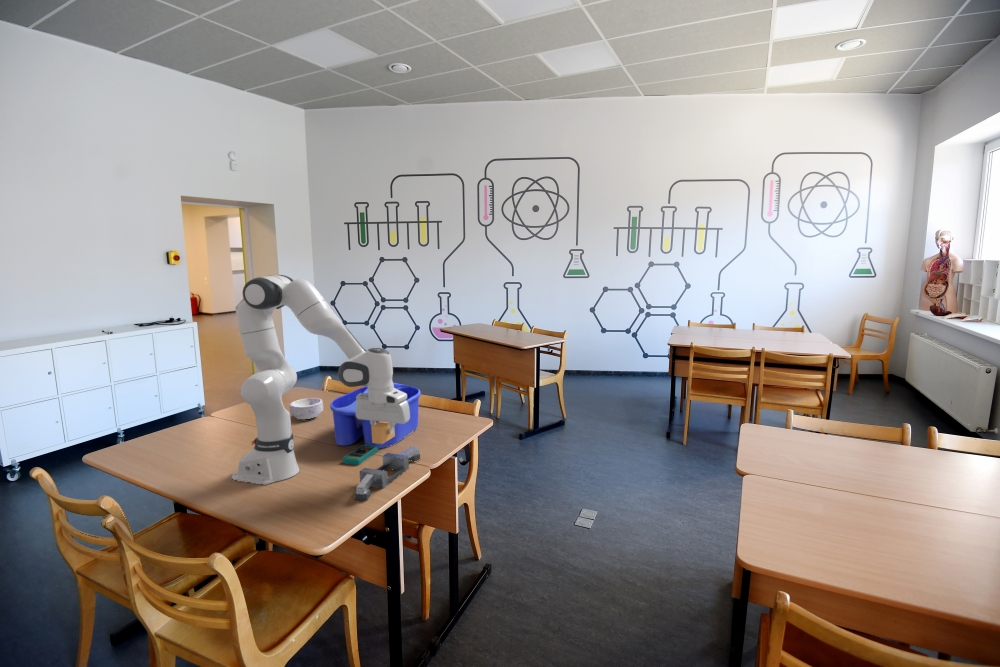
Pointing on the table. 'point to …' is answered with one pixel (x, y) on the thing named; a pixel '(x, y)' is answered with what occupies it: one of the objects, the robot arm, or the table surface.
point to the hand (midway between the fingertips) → (383, 432)
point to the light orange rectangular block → (381, 432)
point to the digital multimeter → (359, 454)
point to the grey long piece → (379, 476)
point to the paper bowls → (306, 408)
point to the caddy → (354, 428)
